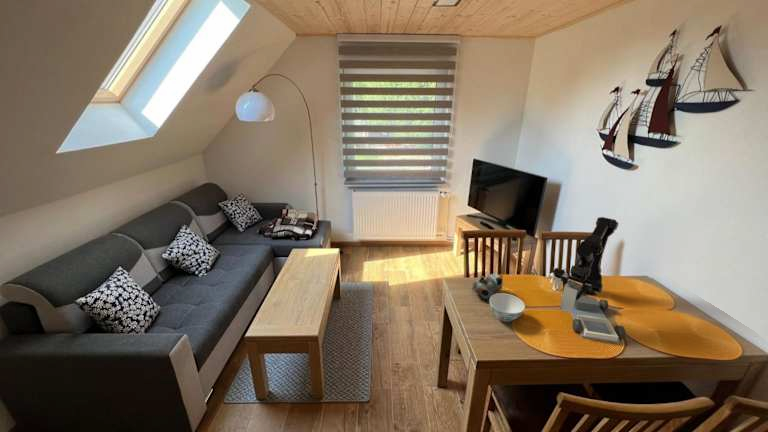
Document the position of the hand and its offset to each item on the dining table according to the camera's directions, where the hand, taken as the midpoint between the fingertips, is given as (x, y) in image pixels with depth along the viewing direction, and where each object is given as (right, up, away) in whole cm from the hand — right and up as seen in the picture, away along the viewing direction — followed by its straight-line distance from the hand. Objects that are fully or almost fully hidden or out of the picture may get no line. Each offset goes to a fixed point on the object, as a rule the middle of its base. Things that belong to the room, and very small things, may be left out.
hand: (569, 297), depth 141 cm
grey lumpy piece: (-28, -5, +26) cm, 39 cm away
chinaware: (-25, -11, +9) cm, 29 cm away
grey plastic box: (+1, -6, +3) cm, 7 cm away
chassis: (+13, -12, +7) cm, 19 cm away
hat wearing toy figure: (+10, -3, +30) cm, 32 cm away
